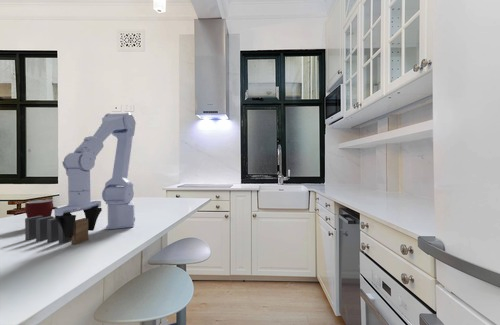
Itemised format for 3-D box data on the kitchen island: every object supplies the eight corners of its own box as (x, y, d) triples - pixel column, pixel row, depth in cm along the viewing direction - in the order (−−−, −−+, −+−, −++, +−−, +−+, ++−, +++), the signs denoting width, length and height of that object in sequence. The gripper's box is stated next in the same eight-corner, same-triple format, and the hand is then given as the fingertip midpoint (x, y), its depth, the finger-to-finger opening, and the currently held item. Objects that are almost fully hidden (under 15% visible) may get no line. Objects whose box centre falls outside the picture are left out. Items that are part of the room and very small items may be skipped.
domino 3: (64, 238, 82) (64, 216, 82) (51, 242, 78) (51, 220, 78) (60, 237, 82) (60, 216, 82) (47, 242, 78) (47, 219, 78)
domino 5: (88, 239, 80) (88, 218, 80) (76, 244, 76) (75, 221, 76) (84, 239, 80) (84, 218, 80) (71, 244, 76) (71, 221, 76)
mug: (61, 222, 103) (61, 198, 102) (59, 227, 96) (59, 201, 96) (28, 226, 97) (27, 201, 97) (23, 231, 90) (22, 204, 90)
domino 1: (43, 236, 84) (43, 215, 84) (29, 240, 80) (28, 218, 80) (39, 236, 84) (39, 215, 84) (25, 240, 80) (25, 218, 80)
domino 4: (75, 238, 81) (75, 217, 81) (62, 243, 77) (62, 220, 77) (71, 238, 81) (71, 217, 81) (58, 242, 77) (58, 220, 77)
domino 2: (53, 237, 83) (53, 216, 83) (40, 241, 79) (39, 219, 79) (50, 236, 83) (49, 216, 83) (36, 241, 79) (35, 219, 79)
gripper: (88, 187, 86) (89, 226, 86) (45, 193, 72) (46, 240, 72) (106, 188, 84) (106, 227, 84) (65, 194, 70) (66, 241, 70)
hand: (80, 233), depth 78 cm, fingers open, 7 cm apart
